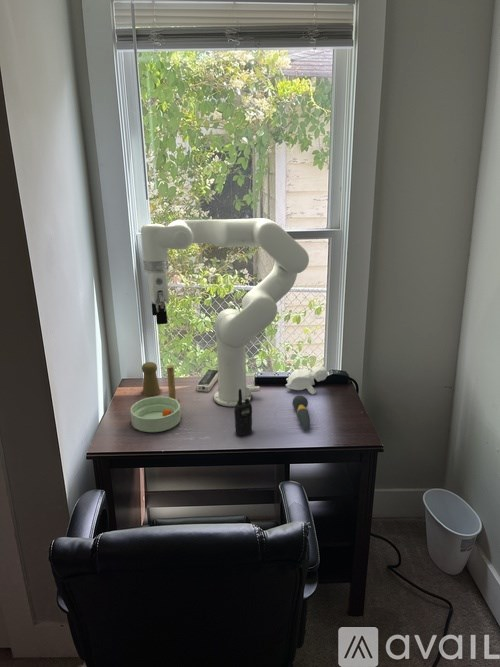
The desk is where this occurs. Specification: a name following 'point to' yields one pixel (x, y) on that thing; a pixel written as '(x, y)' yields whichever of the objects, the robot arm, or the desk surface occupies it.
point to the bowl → (155, 414)
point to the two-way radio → (243, 416)
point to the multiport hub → (207, 381)
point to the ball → (166, 412)
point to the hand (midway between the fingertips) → (159, 319)
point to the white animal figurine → (305, 378)
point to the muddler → (171, 382)
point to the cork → (150, 379)
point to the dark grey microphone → (302, 411)
